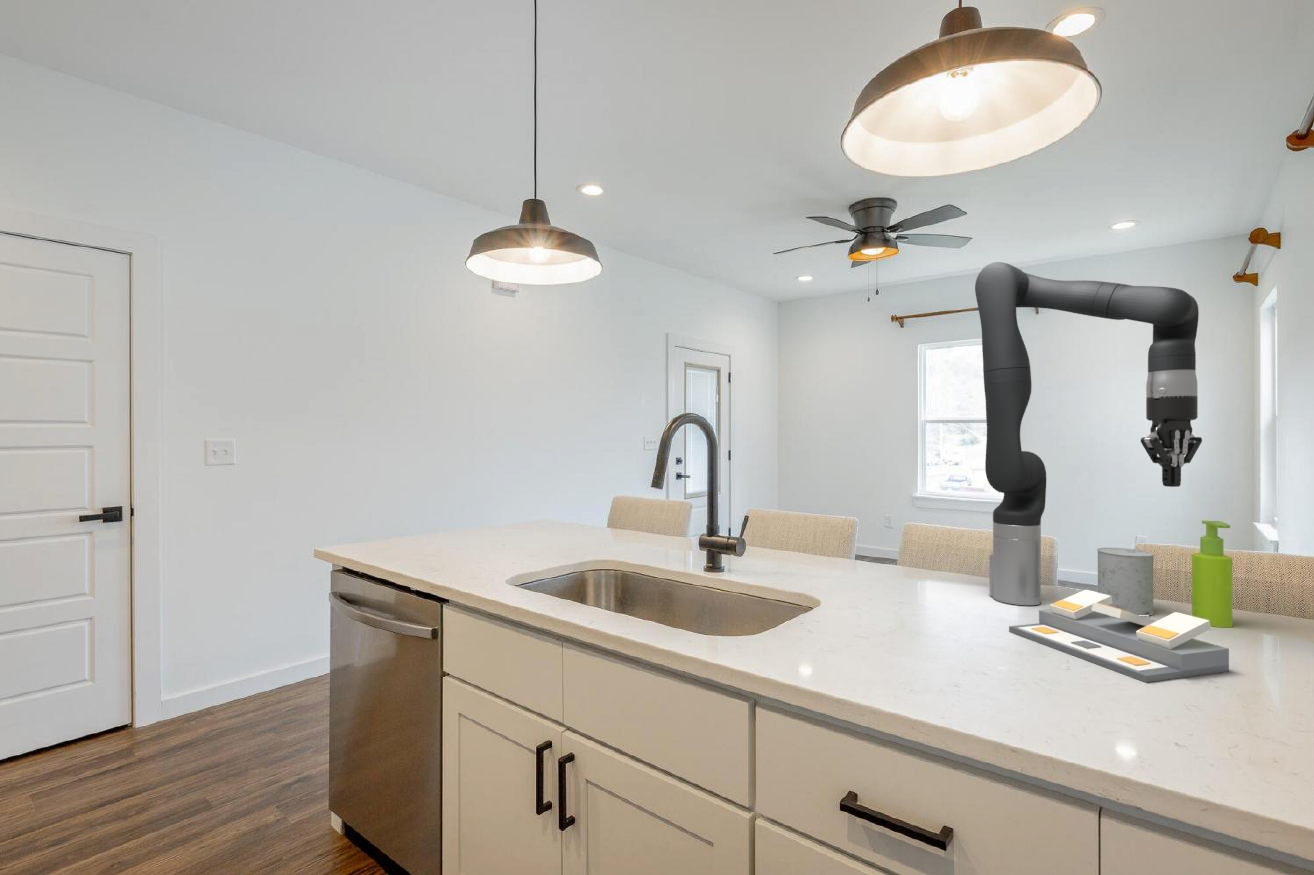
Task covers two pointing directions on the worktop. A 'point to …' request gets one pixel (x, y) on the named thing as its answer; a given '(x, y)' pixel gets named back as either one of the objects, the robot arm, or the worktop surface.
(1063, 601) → the plate
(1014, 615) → the worktop surface
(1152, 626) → the rocker right
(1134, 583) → the grey concrete cylinder
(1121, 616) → the rocker middle
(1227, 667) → the switch unit
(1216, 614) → the soap dispenser
